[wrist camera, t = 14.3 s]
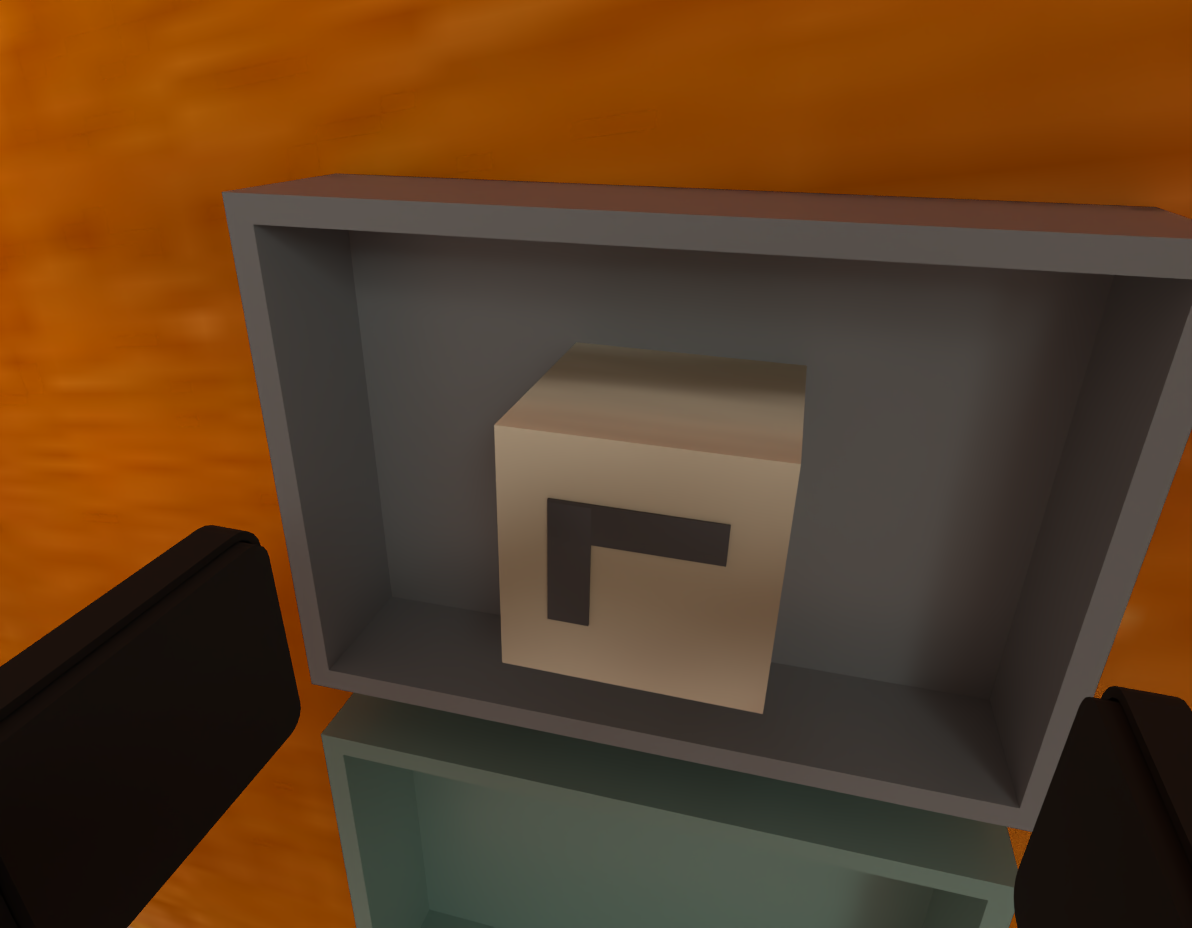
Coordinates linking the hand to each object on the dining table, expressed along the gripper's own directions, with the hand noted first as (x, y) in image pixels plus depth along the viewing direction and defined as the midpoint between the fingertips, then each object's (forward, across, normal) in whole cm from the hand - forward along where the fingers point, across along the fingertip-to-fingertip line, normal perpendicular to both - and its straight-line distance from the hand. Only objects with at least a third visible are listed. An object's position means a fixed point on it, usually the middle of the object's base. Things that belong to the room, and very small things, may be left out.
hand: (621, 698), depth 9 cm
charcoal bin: (+8, +1, +1) cm, 8 cm away
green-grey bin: (+8, +1, +13) cm, 15 cm away
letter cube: (+8, +1, +1) cm, 8 cm away
